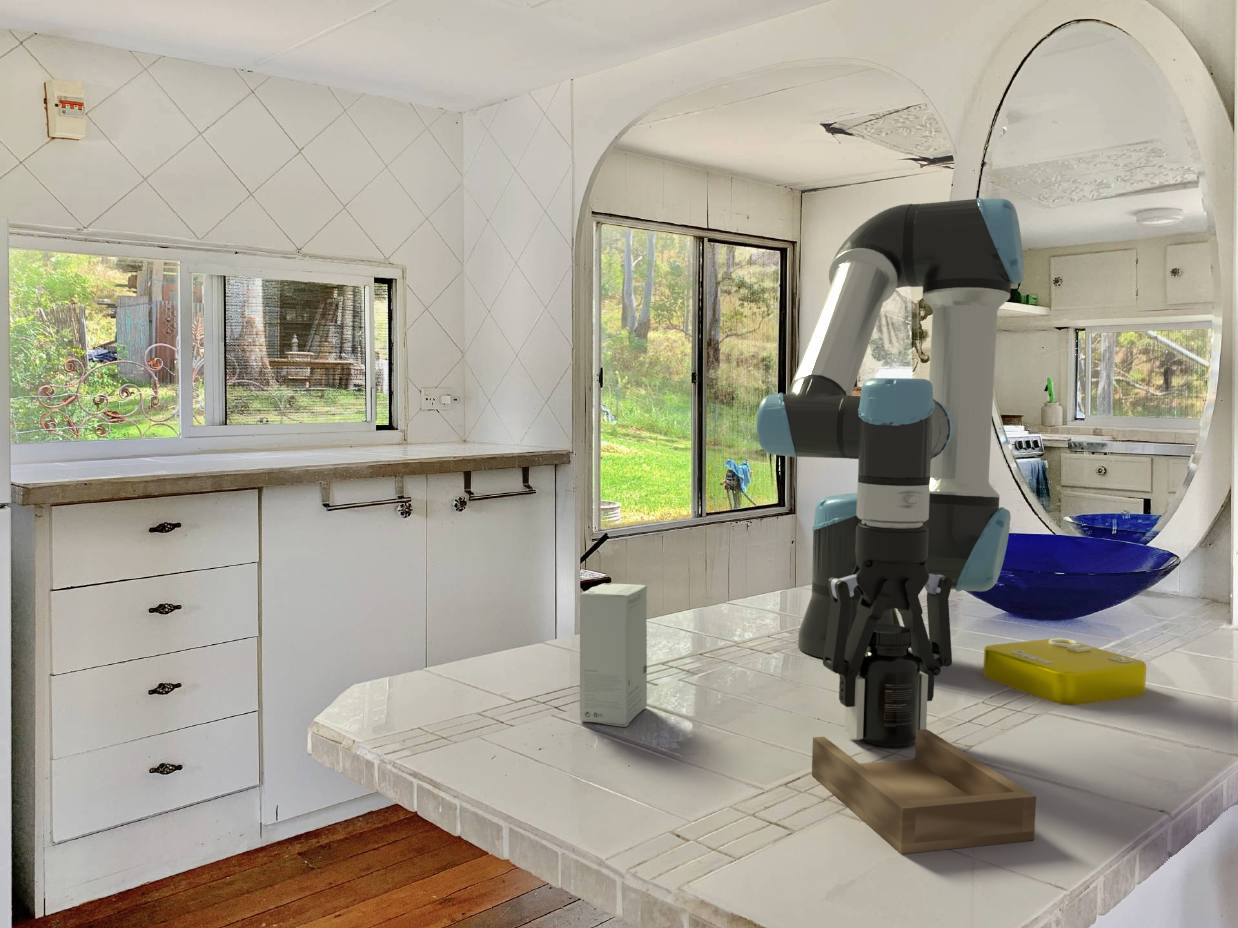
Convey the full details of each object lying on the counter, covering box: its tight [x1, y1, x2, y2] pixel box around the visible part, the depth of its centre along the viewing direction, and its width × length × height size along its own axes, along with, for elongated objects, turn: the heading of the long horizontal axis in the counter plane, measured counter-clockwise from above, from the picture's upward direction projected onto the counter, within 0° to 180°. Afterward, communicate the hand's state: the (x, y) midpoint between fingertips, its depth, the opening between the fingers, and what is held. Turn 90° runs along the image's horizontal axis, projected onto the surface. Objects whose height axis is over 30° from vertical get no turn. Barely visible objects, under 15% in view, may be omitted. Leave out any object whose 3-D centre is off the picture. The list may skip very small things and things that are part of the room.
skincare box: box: [579, 582, 648, 728], centre depth 116 cm, size 8×6×15 cm
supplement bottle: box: [858, 624, 920, 747], centre depth 109 cm, size 7×7×12 cm
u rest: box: [811, 728, 1037, 855], centre depth 91 cm, size 17×12×4 cm
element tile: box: [982, 637, 1147, 706], centre depth 132 cm, size 15×15×5 cm
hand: (885, 731), depth 109 cm, fingers closed on supplement bottle, 7 cm apart
